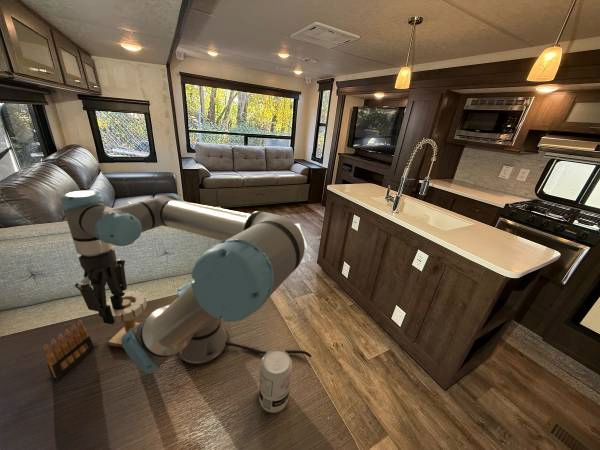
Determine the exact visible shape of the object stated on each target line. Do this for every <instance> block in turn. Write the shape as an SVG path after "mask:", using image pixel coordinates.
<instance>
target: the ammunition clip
mask: <svg viewBox="0 0 600 450" xmlns="http://www.w3.org/2000/svg"><path fill="white" fill-rule="evenodd" d="M77 327H78V328H77ZM70 328H71V331H70V330H69V329H67V328H65V330H64V336H63V335H62V333H58V335H57V340H58V342H57V341H56V340H55V339H54V338H51V340H50V345H51V347H50V346H49V345H48V344H47V343H43V351H44V355H45V359H46V363H47V367H48V370H49V373H50V376H51V378H52V379H55V380H58V379H60V378H61V377H62V376H63V375H65V374H66V373H67V372H68V371H69V370H70V369H71V368H73V367H74V366H75V365H77V363H78V362H79V361H80V360H82V359H83V358H84V357H85V356H86V355H87V354H89V353H90V352H91V351H93V350H94V349H95V346H94V344H93V341H92V338H91V336H90V335H89V334H88V330H87V329H86V327H85V325H84V324H83V322H82V320H81V319H78V320H77V326H76V325H75V324H73V323H72V324H71V327H70ZM71 332H72V334H71ZM58 343H59V344H58ZM51 349H52V350H51Z"/></svg>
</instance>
